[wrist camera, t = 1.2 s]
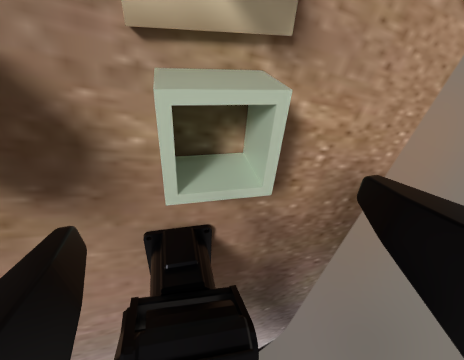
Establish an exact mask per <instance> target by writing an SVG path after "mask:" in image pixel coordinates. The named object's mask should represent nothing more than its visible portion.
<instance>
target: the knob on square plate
mask: <svg viewBox="0 0 464 360" xmlns="http://www.w3.org/2000/svg"><path fill="white" fill-rule="evenodd" d="M121 1H122V7H123V14H124V21H125V26H134V27H151V28H168V29H185V30H201V31H218V32H235V33H251V34H268V35H285V36H292V33H293V27H294V21H295V16H296V10H297V4H298V0H121Z"/></svg>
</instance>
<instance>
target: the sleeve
mask: <svg viewBox="0 0 464 360" xmlns="http://www.w3.org/2000/svg"><path fill="white" fill-rule="evenodd" d="M153 90H154V99H155V108H156V118H157V127H158V136H159V145H160V155H161V164H162V173H163V183H164V192H165V201H166V205H176V204H186V203H196V202H206V201H216V200H226V199H236V198H246V197H256V196H267V195H272V190H273V185H274V180H275V175H276V170H277V165H278V160H279V155H280V150H281V145H282V140H283V135H284V130H285V125H286V120H287V115H288V110H289V105H290V100H291V95H292V89H290V88H289V87H287V86H286V85H284V84H283V83H281V82H280V81H278V80H276V79H275V78H273V77H272V76H270V75H269V74H267V73H266V72H264V71H263V70H223V69H182V68H155V71H154V89H153ZM171 105H248V113H247V122H246V132H245V141H244V150H243V153H230V154H212V155H194V156H176V157H175V148H174V134H173V120H172V106H171Z"/></svg>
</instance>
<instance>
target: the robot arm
mask: <svg viewBox="0 0 464 360" xmlns="http://www.w3.org/2000/svg"><path fill="white" fill-rule="evenodd" d="M357 201H358V203H359V205H360V207H361V208H362V210H363V212H364V214H365V215H366V217H367V219H368V220H369V222H370V224H371V225H372V227H373V229H374V231H375V233H376V234H377V236H378V238H379V239H380V240H381V242H382V244H383V245H384V247H385V248H386V249H387V251H388V252H389V253H390V255H391V256H392V258H393V259H394V261H395V262H396V264H397V265H398V266H399V268H400V269H401V271H402V272H403V273H404V275H405V276H406V277H407V279H408V280H409V282H410V283H411V285H412V286H413V287H414V289H415V290H416V292H417V293H418V294H419V296H420V297H421V298H422V300H423V301H424V303H425V304H426V306H427V307H428V308H429V310H430V311H431V313H432V314H433V315H434V317H435V318H436V320H437V321H438V323H439V324H440V325H441V327H442V328H443V330H444V331H445V332H446V334H447V335H448V337H449V338H450V339H451V341H452V342H453V344H454V345H455V346H456V348H457V349H458V350H459V352H460V353H461V355H462V356H463V358H464V206H463V205H460V204H457V203H454V202H451V201H449V200H446V199H443V198H441V197H438V196H435V195H432V194H429V193H427V192H424V191H421V190H418V189H416V188H413V187H410V186H407V185H404V184H402V183H399V182H396V181H393V180H391V179H388V178H385V177H382V176H379V175H372V176H366V177H365V178H364V179H363V180H362V183H361V186H360V188H359V191H358V194H357ZM207 229H208V230H207ZM211 238H212V230H211V226H210V225H201V226H192V227H184V228H176V229H167V230H159V231H151V232H146V233H145V234H144V244H145V250H146V255H147V260H148V265H149V270H150V275H151V279H150V297H143V298H139V297H133V298H131V303H130V307H129V308H127V310H126V311H124V312H123V318H122V327H121V334H120V338H119V342H118V346H117V350H116V354H115V358H114V360H259V352H258V342H257V337H256V332H255V328H254V325H253V322H252V320H251V318H250V316H249V313H248V311H247V309H246V307H245V305H244V302H243V300H242V298H241V296H240V294H239V291H238V289H237V287H236V285H233V286H229V287H225V288H217V289H215V284H214V279H213V274H212V269H211ZM86 256H87V249H86V245H85V243H84V241H83V239H82V238H81V236H80V234H79V232H78V230H77V229H76V228H75V227H74V226H67V227H61V228H57V229H55V230H54V231H53V232H52V233H51V234H49V235H48V236H47V237H46V238H45V239H44V240H43V241H42V242H40V243H39V244H38V245H37V246H36V247H35V248H34V249H33V250H32V251H30V252H29V253H28V254H27V255H26V256H25V257H24V258H23V259H21V260H20V261H19V262H18V263H17V264H16V265H15V266H14V267H13V268H11V269H10V270H9V271H8V272H7V273H6V274H5V275H4V276H2V277H1V278H0V360H70V359H71V354H72V349H73V345H74V340H75V335H76V331H77V326H78V321H79V317H80V312H81V306H82V298H83V288H84V278H85V267H86Z"/></svg>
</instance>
